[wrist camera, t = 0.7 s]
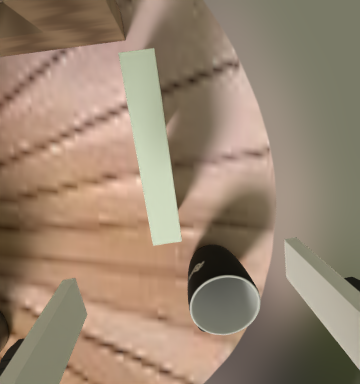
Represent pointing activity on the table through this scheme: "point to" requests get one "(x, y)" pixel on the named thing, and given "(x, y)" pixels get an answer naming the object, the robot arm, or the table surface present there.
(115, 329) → the table surface
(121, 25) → the slotted board
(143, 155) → the sage plate
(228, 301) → the mug
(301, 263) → the robot arm
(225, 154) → the table surface
